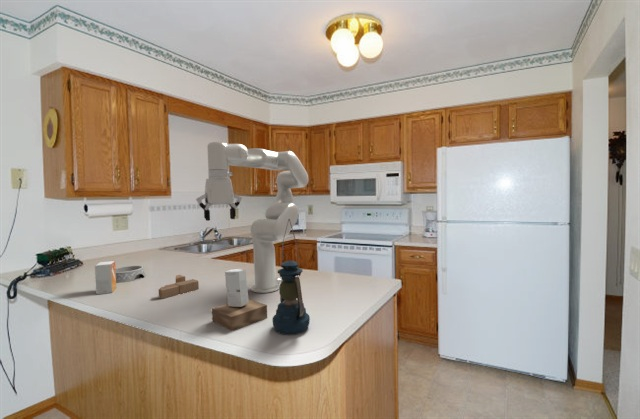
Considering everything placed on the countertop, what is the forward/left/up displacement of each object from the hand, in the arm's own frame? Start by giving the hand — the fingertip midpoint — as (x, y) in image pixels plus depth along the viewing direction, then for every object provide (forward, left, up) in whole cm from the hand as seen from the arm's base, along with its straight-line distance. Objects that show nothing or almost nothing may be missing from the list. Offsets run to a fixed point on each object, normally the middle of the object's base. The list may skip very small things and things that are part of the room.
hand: (220, 219), depth 126 cm
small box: (+36, -52, -34) cm, 72 cm away
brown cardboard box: (+1, +19, -34) cm, 39 cm away
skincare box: (+1, +18, -29) cm, 34 cm away
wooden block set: (+12, -33, -34) cm, 49 cm away
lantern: (-9, +36, -34) cm, 50 cm away
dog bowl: (+26, -74, -34) cm, 85 cm away
